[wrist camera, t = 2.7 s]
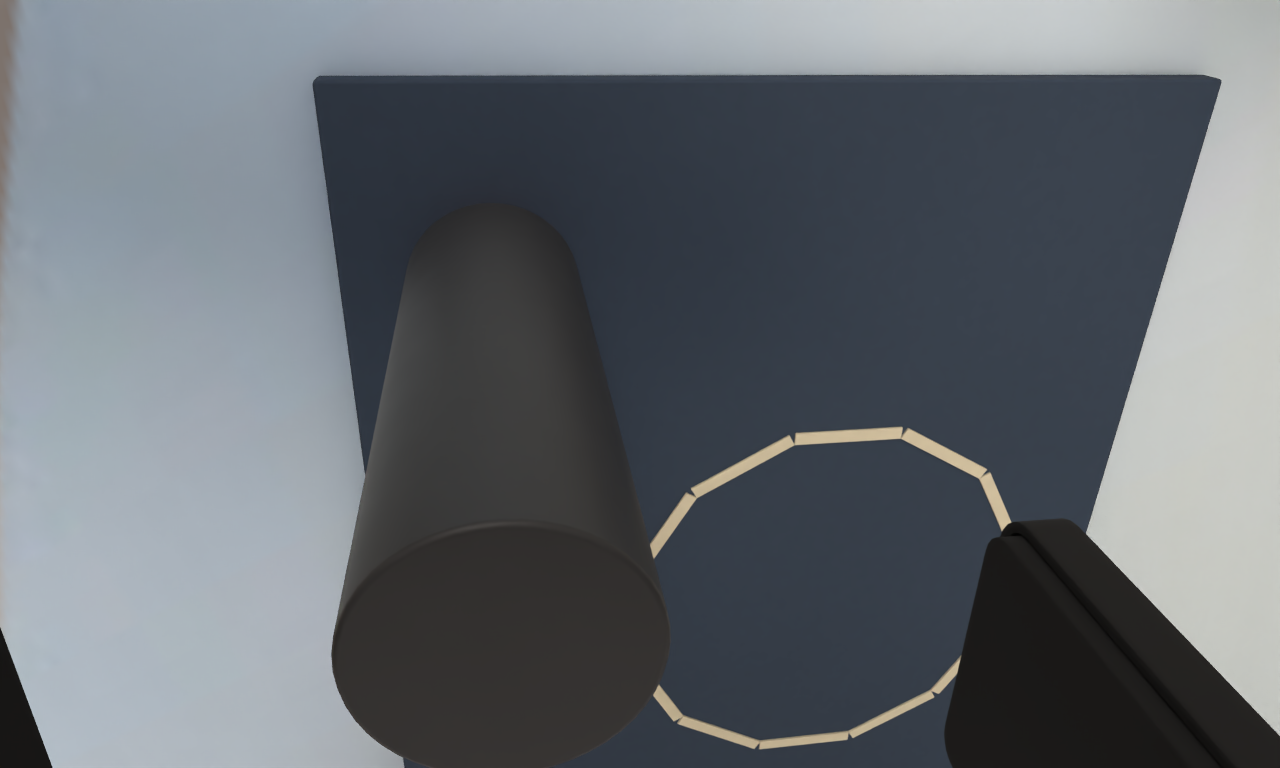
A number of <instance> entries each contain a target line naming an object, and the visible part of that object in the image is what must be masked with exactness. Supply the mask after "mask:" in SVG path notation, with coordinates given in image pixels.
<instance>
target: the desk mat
mask: <svg viewBox="0 0 1280 768" xmlns="http://www.w3.org/2000/svg"><path fill="white" fill-rule="evenodd" d="M1220 85H1221V80H1220V79H1217V78H1213V77H1209V76H1205V75H752V76H319V77H317V78H316V79H315V80H314V81H313V91H314V98H315V106H316V113H317V121H318V128H319V135H320V143H321V150H322V158H323V165H324V173H325V180H326V187H327V195H328V202H329V210H330V217H331V225H332V232H333V240H334V247H335V254H336V262H337V269H338V277H339V284H340V292H341V299H342V306H343V314H344V321H345V329H346V336H347V344H348V351H349V358H350V366H351V373H352V381H353V388H354V396H355V403H356V410H357V418H358V425H359V433H360V440H361V448H362V455H363V462H364V470H365V475H366V470H367V465H368V460H369V455H370V450H371V445H372V440H373V435H374V430H375V425H376V420H377V415H378V410H379V405H380V400H381V395H382V390H383V385H384V380H385V375H386V370H387V365H388V360H389V355H390V350H391V345H392V340H393V335H394V330H395V325H396V320H397V315H398V310H399V305H400V300H401V295H402V290H403V285H404V280H405V275H406V270H407V266H408V262H409V258H410V256H411V254H412V251H413V249H414V247H415V245H416V244H417V242H418V240H419V239H420V237H421V236H422V235H423V234H424V233H425V231H426V230H427V229H428V228H429V227H430V226H431V225H433V224H434V223H435V222H436V221H437V220H439V219H440V218H442V217H443V216H445V215H447V214H449V213H451V212H453V211H455V210H457V209H460V208H463V207H466V206H470V205H475V204H483V203H501V204H507V205H513V206H516V207H519V208H523V209H525V210H527V211H530V212H532V213H534V214H536V215H537V216H539V217H541V218H542V219H544V220H545V221H547V222H548V223H549V224H550V225H552V226H553V227H554V228H555V229H556V230H557V231H558V232H559V234H560V235H561V236H562V237H563V239H564V240H565V241H566V243H567V244H568V246H569V248H570V250H571V252H572V254H573V257H574V259H575V262H576V265H577V269H578V273H579V277H580V281H581V284H582V288H583V292H584V296H585V300H586V303H587V307H588V311H589V315H590V319H591V322H592V326H593V330H594V334H595V338H596V341H597V345H598V349H599V353H600V357H601V360H602V364H603V368H604V372H605V376H606V379H607V383H608V387H609V391H610V395H611V398H612V402H613V406H614V410H615V414H616V418H617V421H618V425H619V429H620V433H621V437H622V440H623V444H624V448H625V452H626V456H627V459H628V463H629V467H630V471H631V475H632V478H633V482H634V486H635V490H636V494H637V497H638V501H639V505H640V509H641V513H642V516H643V520H644V524H645V528H646V532H647V535H648V539H649V543H650V547H651V551H652V554H653V558H654V562H655V566H656V570H657V573H658V577H659V581H660V585H661V589H662V592H663V596H664V600H665V604H666V608H667V612H668V617H669V622H670V636H671V642H670V649H669V657H668V660H667V663H666V667H665V670H664V673H663V676H662V679H661V681H660V683H659V685H658V687H657V689H656V691H655V693H654V694H653V696H652V697H651V699H650V700H649V702H648V703H647V705H646V706H645V707H644V708H643V710H642V711H641V712H640V713H639V714H638V715H637V717H636V718H635V719H634V720H633V721H632V722H631V723H629V724H628V725H627V726H626V727H625V728H624V729H623V730H622V731H621V732H619V733H618V734H617V735H615V736H614V737H612V738H611V739H610V740H608V741H607V742H606V743H604V744H602V745H600V746H599V747H597V748H595V749H593V750H592V751H590V752H588V753H586V754H584V755H581V756H579V757H577V758H575V759H573V760H570V761H567V762H564V763H562V764H559V765H556V766H553V767H549V768H953V767H952V765H951V763H950V761H949V758H948V755H947V752H946V747H945V740H944V730H945V723H946V719H947V715H948V710H949V706H950V702H951V697H952V693H953V689H954V684H955V680H956V676H957V672H958V667H959V663H960V659H961V654H962V650H963V646H964V641H965V637H966V633H967V629H968V624H969V620H970V616H971V611H972V607H973V603H974V598H975V594H976V590H977V586H978V581H979V577H980V573H981V568H982V564H983V560H984V556H985V551H986V548H987V545H988V543H989V542H990V541H991V539H993V538H996V537H1000V536H1001V533H1002V530H1003V529H1004V528H1005V527H1006V525H1007V524H1009V523H1012V522H1016V521H1031V520H1045V519H1060V518H1063V519H1068V520H1071V521H1072V522H1073V523H1075V524H1076V525H1077V526H1079V527H1080V529H1081V530H1082V531H1083V532H1084V533H1085V534H1086V531H1087V528H1088V524H1089V521H1090V518H1091V514H1092V511H1093V508H1094V504H1095V501H1096V498H1097V494H1098V491H1099V488H1100V484H1101V481H1102V478H1103V475H1104V471H1105V468H1106V465H1107V461H1108V458H1109V455H1110V451H1111V448H1112V445H1113V441H1114V438H1115V435H1116V431H1117V428H1118V425H1119V421H1120V418H1121V415H1122V411H1123V408H1124V405H1125V401H1126V398H1127V395H1128V391H1129V388H1130V385H1131V381H1132V378H1133V375H1134V371H1135V368H1136V365H1137V361H1138V358H1139V355H1140V351H1141V348H1142V345H1143V342H1144V338H1145V335H1146V332H1147V328H1148V325H1149V322H1150V318H1151V315H1152V312H1153V308H1154V305H1155V302H1156V298H1157V295H1158V292H1159V288H1160V285H1161V282H1162V278H1163V275H1164V272H1165V268H1166V265H1167V262H1168V258H1169V255H1170V252H1171V248H1172V245H1173V242H1174V238H1175V235H1176V232H1177V228H1178V225H1179V222H1180V218H1181V215H1182V212H1183V208H1184V205H1185V202H1186V199H1187V195H1188V192H1189V189H1190V185H1191V182H1192V179H1193V175H1194V172H1195V169H1196V165H1197V162H1198V159H1199V155H1200V152H1201V149H1202V145H1203V142H1204V139H1205V135H1206V132H1207V129H1208V125H1209V122H1210V119H1211V115H1212V112H1213V109H1214V105H1215V102H1216V99H1217V95H1218V92H1219V89H1220ZM403 760H404V767H405V768H429V767H426V766H423V765H420V764H417V763H414V762H412V761H410V760H408V759H406V758H404V757H403Z"/></svg>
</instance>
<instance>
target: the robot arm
mask: <svg viewBox="0 0 1280 768" xmlns="http://www.w3.org/2000/svg"><path fill="white" fill-rule="evenodd" d="M944 740H945V747H946V752H947V755H948V758H949V761H950V763H951V765H952V767H953V768H1280V736H1279V735H1278V734H1277V733H1276V732H1275V731H1274V730H1273V729H1272V728H1271V727H1270V725H1269V724H1268V723H1267V722H1266V721H1265V720H1264V719H1263V718H1262V717H1261V716H1260V715H1259V714H1258V713H1257V712H1256V711H1255V710H1254V709H1253V708H1252V707H1251V706H1250V705H1249V704H1248V703H1247V701H1246V700H1245V699H1244V698H1243V697H1242V696H1241V695H1240V694H1239V693H1238V692H1237V691H1236V690H1235V689H1234V688H1233V687H1232V686H1231V685H1230V684H1229V683H1228V682H1227V681H1226V680H1225V679H1224V678H1223V676H1222V675H1221V674H1220V673H1219V672H1218V671H1217V670H1216V669H1215V668H1214V667H1213V666H1212V665H1211V664H1210V663H1209V662H1208V661H1207V660H1206V659H1205V658H1204V657H1203V656H1202V655H1201V654H1200V653H1199V651H1198V650H1197V649H1196V648H1195V647H1194V646H1193V645H1192V644H1191V643H1190V642H1189V641H1188V640H1187V639H1186V638H1185V637H1184V636H1183V635H1182V634H1181V633H1180V632H1179V631H1178V630H1177V629H1176V628H1175V626H1174V625H1173V624H1172V623H1171V622H1170V621H1169V620H1168V619H1167V618H1166V617H1165V616H1164V615H1163V614H1162V613H1161V612H1160V611H1159V610H1158V609H1157V608H1156V607H1155V606H1154V605H1153V604H1152V603H1151V601H1150V600H1149V599H1148V598H1147V597H1146V596H1145V595H1144V594H1143V593H1142V592H1141V591H1140V590H1139V589H1138V588H1137V587H1136V586H1135V585H1134V584H1133V583H1132V582H1131V581H1130V580H1129V579H1128V577H1127V576H1126V575H1125V574H1124V573H1123V572H1122V571H1121V570H1120V569H1119V568H1118V567H1117V566H1116V565H1115V564H1114V563H1113V562H1112V561H1111V560H1110V559H1109V558H1108V557H1107V556H1106V555H1105V554H1104V552H1103V551H1102V550H1101V549H1100V548H1099V547H1098V546H1097V545H1096V544H1095V543H1094V542H1093V541H1092V540H1091V539H1090V538H1089V537H1088V536H1087V535H1086V534H1085V533H1084V532H1083V531H1082V530H1081V529H1080V527H1079V526H1077V525H1076V524H1075V523H1073V522H1072V521H1071V520H1068V519H1063V518H1060V519H1045V520H1031V521H1016V522H1012V523H1009V524H1007V525H1006V527H1005V528H1004V529H1003V530H1002V533H1001V536H1000V537H996V538H993V539H991V541H990V542H989V543H988V545H987V548H986V551H985V556H984V560H983V564H982V568H981V573H980V577H979V581H978V586H977V590H976V594H975V598H974V603H973V607H972V611H971V616H970V620H969V624H968V629H967V633H966V637H965V641H964V646H963V650H962V654H961V659H960V663H959V667H958V672H957V676H956V680H955V684H954V689H953V693H952V697H951V702H950V706H949V710H948V715H947V719H946V723H945V730H944ZM0 768H52V765H51V762H50V760H49V757H48V754H47V752H46V749H45V746H44V744H43V741H42V738H41V735H40V733H39V730H38V727H37V725H36V722H35V719H34V717H33V714H32V711H31V709H30V706H29V703H28V701H27V698H26V695H25V693H24V690H23V687H22V685H21V682H20V679H19V676H18V674H17V671H16V668H15V666H14V663H13V660H12V658H11V655H10V652H9V650H8V647H7V644H6V642H5V639H4V636H3V634H2V631H1V628H0Z"/></svg>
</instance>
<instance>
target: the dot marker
mask: <svg viewBox="0 0 1280 768" xmlns="http://www.w3.org/2000/svg"><path fill="white" fill-rule="evenodd" d="M670 642H671V636H670V622H669V617H668V612H667V608H666V604H665V600H664V596H663V592H662V589H661V585H660V581H659V577H658V573H657V570H656V566H655V562H654V558H653V554H652V551H651V547H650V543H649V539H648V535H647V532H646V528H645V524H644V520H643V516H642V513H641V509H640V505H639V501H638V497H637V494H636V490H635V486H634V482H633V478H632V475H631V471H630V467H629V463H628V459H627V456H626V452H625V448H624V444H623V440H622V437H621V433H620V429H619V425H618V421H617V418H616V414H615V410H614V406H613V402H612V398H611V395H610V391H609V387H608V383H607V379H606V376H605V372H604V368H603V364H602V360H601V357H600V353H599V349H598V345H597V341H596V338H595V334H594V330H593V326H592V322H591V319H590V315H589V311H588V307H587V303H586V300H585V296H584V292H583V288H582V284H581V281H580V277H579V273H578V269H577V265H576V262H575V259H574V257H573V254H572V252H571V250H570V248H569V246H568V244H567V243H566V241H565V240H564V239H563V237H562V236H561V235H560V234H559V232H558V231H557V230H556V229H555V228H554V227H553V226H552V225H550V224H549V223H548V222H547V221H545V220H544V219H542V218H541V217H539V216H537V215H536V214H534V213H532V212H530V211H527V210H525V209H523V208H519V207H516V206H513V205H507V204H501V203H483V204H475V205H470V206H466V207H463V208H460V209H457V210H455V211H453V212H451V213H449V214H447V215H445V216H443V217H442V218H440V219H439V220H437V221H436V222H435V223H434V224H433V225H431V226H430V227H429V228H428V229H427V230H426V231H425V233H424V234H423V235H422V236H421V237H420V239H419V240H418V242H417V244H416V245H415V247H414V249H413V251H412V254H411V256H410V258H409V262H408V266H407V270H406V275H405V280H404V285H403V290H402V295H401V300H400V305H399V310H398V315H397V320H396V325H395V330H394V335H393V340H392V345H391V350H390V355H389V360H388V365H387V370H386V375H385V380H384V385H383V390H382V395H381V400H380V405H379V410H378V415H377V420H376V425H375V430H374V435H373V440H372V445H371V450H370V455H369V460H368V465H367V470H366V475H365V480H364V485H363V490H362V495H361V500H360V505H359V510H358V515H357V520H356V525H355V530H354V535H353V540H352V545H351V550H350V555H349V560H348V565H347V570H346V575H345V580H344V585H343V590H342V595H341V600H340V605H339V610H338V615H337V620H336V625H335V630H334V635H333V643H332V653H331V655H332V668H333V674H334V678H335V682H336V685H337V689H338V691H339V693H340V695H341V697H342V700H343V702H344V704H345V706H346V708H347V709H348V711H349V712H350V714H351V715H352V716H353V718H354V719H355V721H356V722H357V723H358V724H359V725H360V726H361V727H362V728H363V729H364V730H365V732H366V733H367V734H369V735H370V736H371V737H372V738H373V739H375V740H376V741H377V742H378V743H380V744H381V745H382V746H384V747H386V748H387V749H389V750H391V751H392V752H394V753H395V754H397V755H399V756H401V757H404V758H406V759H408V760H410V761H412V762H414V763H417V764H420V765H423V766H426V767H429V768H549V767H553V766H556V765H559V764H562V763H564V762H567V761H570V760H573V759H575V758H577V757H579V756H581V755H584V754H586V753H588V752H590V751H592V750H593V749H595V748H597V747H599V746H600V745H602V744H604V743H606V742H607V741H608V740H610V739H611V738H612V737H614V736H615V735H617V734H618V733H619V732H621V731H622V730H623V729H624V728H625V727H626V726H627V725H628V724H629V723H631V722H632V721H633V720H634V719H635V718H636V717H637V715H638V714H639V713H640V712H641V711H642V710H643V708H644V707H645V706H646V705H647V703H648V702H649V700H650V699H651V697H652V696H653V694H654V693H655V691H656V689H657V687H658V685H659V683H660V681H661V679H662V676H663V673H664V670H665V667H666V663H667V660H668V657H669V649H670Z"/></svg>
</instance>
